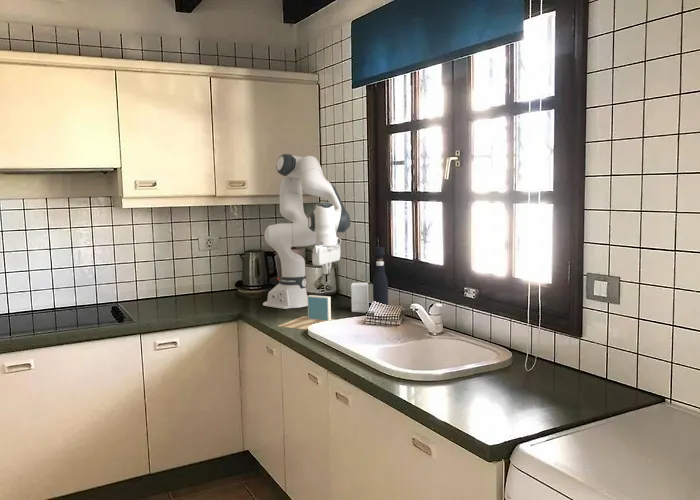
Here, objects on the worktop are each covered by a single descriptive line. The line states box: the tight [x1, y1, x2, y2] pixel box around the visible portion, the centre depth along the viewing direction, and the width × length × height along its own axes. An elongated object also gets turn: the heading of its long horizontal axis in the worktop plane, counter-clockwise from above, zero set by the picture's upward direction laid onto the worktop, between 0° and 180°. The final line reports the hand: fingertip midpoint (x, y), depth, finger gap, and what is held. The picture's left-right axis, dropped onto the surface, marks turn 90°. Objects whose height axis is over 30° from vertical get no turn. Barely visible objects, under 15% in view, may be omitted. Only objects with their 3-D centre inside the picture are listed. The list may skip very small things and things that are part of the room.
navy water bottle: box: [372, 246, 389, 306], centre depth 277 cm, size 6×6×30 cm
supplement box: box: [350, 282, 370, 314], centre depth 290 cm, size 7×7×13 cm
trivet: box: [278, 315, 337, 330], centre depth 266 cm, size 20×20×1 cm
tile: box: [307, 294, 332, 321], centre depth 272 cm, size 10×2×10 cm, turn 62°
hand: (326, 273), depth 276 cm, fingers closed
